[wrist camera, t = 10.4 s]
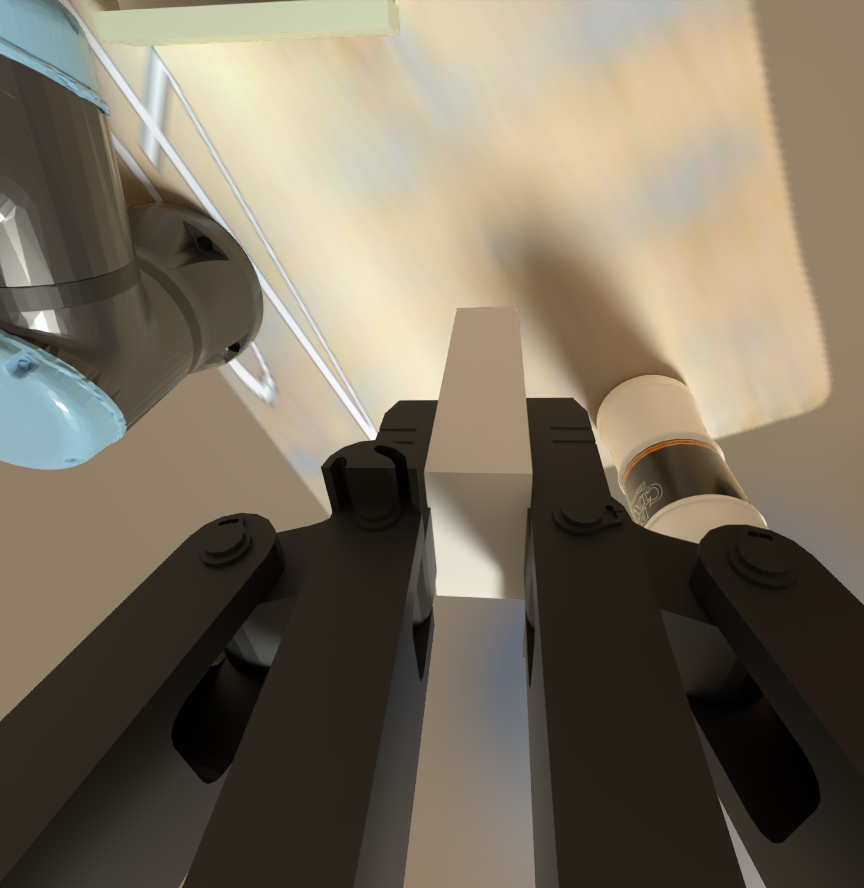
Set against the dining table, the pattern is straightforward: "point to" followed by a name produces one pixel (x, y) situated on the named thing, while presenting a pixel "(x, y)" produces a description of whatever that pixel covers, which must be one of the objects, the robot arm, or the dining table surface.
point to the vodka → (670, 461)
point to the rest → (242, 20)
